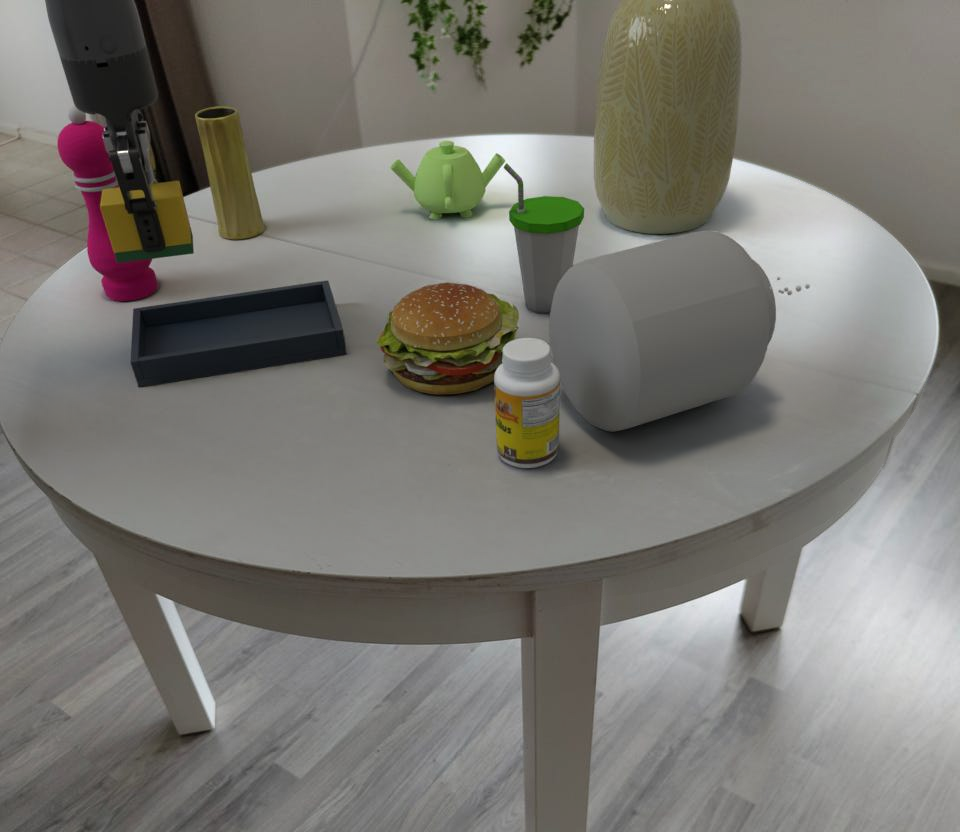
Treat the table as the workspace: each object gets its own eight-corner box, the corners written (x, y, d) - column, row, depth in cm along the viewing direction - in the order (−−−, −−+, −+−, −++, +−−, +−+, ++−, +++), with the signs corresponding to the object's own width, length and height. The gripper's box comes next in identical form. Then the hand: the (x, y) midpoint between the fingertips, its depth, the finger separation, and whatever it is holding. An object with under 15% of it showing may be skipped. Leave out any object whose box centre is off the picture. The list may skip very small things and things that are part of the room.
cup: (593, 297, 106) (599, 155, 95) (558, 326, 101) (561, 180, 91) (534, 283, 109) (533, 144, 98) (498, 311, 104) (493, 168, 94)
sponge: (117, 263, 93) (99, 206, 89) (119, 245, 97) (102, 189, 93) (193, 253, 94) (179, 196, 90) (192, 236, 98) (179, 180, 94)
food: (482, 417, 89) (478, 339, 83) (360, 386, 94) (348, 310, 88) (546, 352, 97) (546, 277, 92) (430, 327, 102) (424, 254, 97)
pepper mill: (104, 281, 115) (43, 100, 101) (164, 274, 116) (112, 93, 102) (98, 307, 110) (33, 119, 96) (161, 299, 111) (105, 112, 96)
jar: (522, 314, 93) (754, 239, 95) (568, 457, 94) (796, 380, 96) (555, 247, 74) (843, 154, 76) (613, 426, 76) (895, 331, 77)
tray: (138, 387, 96) (130, 362, 94) (140, 332, 105) (133, 308, 103) (346, 354, 99) (343, 329, 97) (332, 303, 108) (328, 279, 106)
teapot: (450, 233, 121) (445, 163, 115) (390, 213, 126) (383, 145, 121) (509, 207, 126) (507, 139, 120) (449, 188, 132) (444, 123, 126)
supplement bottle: (491, 441, 86) (486, 337, 79) (550, 432, 86) (550, 328, 79) (504, 475, 82) (500, 369, 75) (565, 466, 83) (568, 359, 75)
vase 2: (617, 184, 130) (630, -54, 111) (740, 199, 124) (776, -50, 105) (571, 230, 119) (576, -25, 100) (703, 249, 114) (735, -18, 95)
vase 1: (210, 238, 123) (181, 118, 113) (232, 220, 127) (206, 103, 117) (252, 241, 122) (226, 121, 112) (273, 223, 126) (250, 105, 116)
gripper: (64, 31, 87) (120, 219, 99) (50, 69, 77) (114, 273, 89) (146, 24, 88) (191, 210, 100) (143, 60, 78) (194, 263, 90)
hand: (155, 239), depth 95 cm, fingers closed on sponge, 4 cm apart
